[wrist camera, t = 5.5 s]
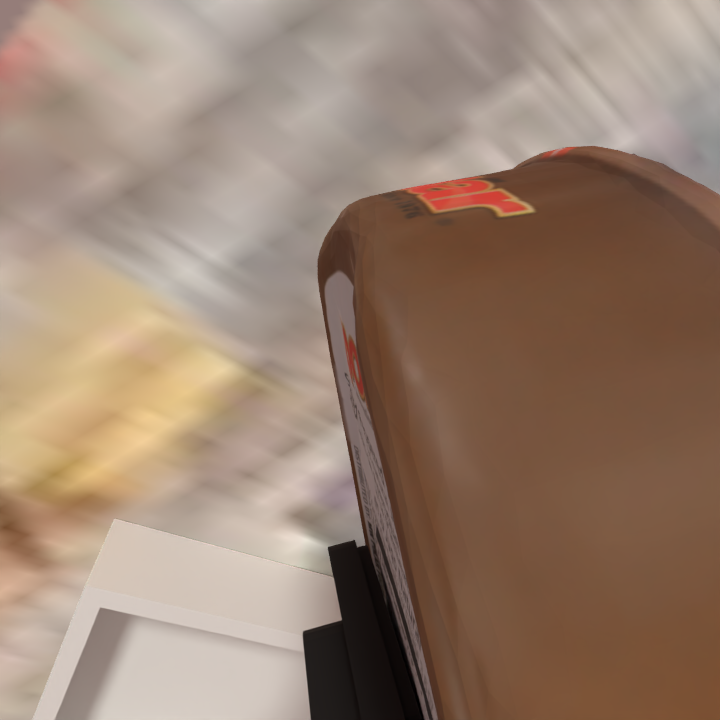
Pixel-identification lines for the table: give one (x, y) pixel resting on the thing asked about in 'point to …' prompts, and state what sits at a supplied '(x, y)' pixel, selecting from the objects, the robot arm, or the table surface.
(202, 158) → the table surface
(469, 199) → the tin
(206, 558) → the tote
